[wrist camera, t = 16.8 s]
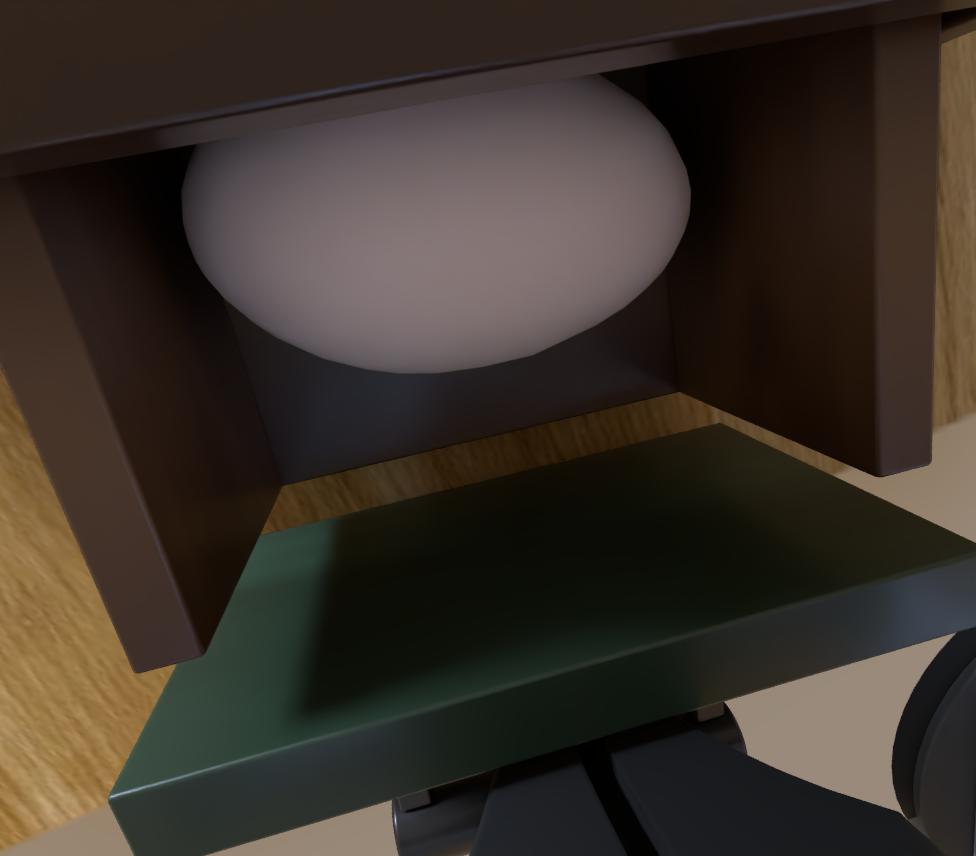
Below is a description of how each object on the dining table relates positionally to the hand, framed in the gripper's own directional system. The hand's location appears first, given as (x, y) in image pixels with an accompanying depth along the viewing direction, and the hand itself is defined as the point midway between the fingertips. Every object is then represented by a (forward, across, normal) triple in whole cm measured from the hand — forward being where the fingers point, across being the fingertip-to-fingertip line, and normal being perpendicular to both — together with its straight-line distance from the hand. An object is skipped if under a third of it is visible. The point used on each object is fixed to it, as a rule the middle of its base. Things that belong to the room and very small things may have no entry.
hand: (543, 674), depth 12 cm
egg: (-1, +4, -9) cm, 10 cm away
